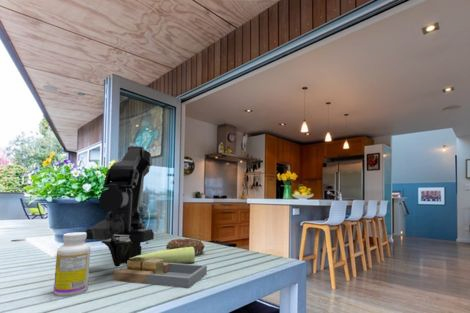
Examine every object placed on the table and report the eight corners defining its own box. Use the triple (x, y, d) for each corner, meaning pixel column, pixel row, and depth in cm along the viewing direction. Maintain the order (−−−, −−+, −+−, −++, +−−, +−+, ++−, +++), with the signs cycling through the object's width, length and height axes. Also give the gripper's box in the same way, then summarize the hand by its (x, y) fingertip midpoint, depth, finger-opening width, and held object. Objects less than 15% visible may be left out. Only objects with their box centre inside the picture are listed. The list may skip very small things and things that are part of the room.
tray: (146, 285, 68) (147, 274, 68) (170, 271, 79) (170, 262, 79) (188, 289, 65) (188, 278, 65) (206, 274, 76) (206, 265, 77)
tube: (193, 241, 91) (129, 247, 85) (195, 251, 87) (128, 258, 80) (192, 255, 93) (129, 262, 87) (194, 266, 88) (128, 274, 82)
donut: (159, 257, 98) (159, 242, 99) (175, 249, 111) (176, 236, 112) (197, 259, 95) (197, 244, 95) (210, 251, 108) (210, 238, 109)
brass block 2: (141, 277, 72) (142, 261, 73) (149, 273, 76) (150, 258, 77) (155, 278, 71) (156, 262, 72) (163, 274, 75) (163, 259, 76)
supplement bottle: (63, 287, 65) (67, 231, 67) (92, 287, 66) (96, 231, 68) (46, 298, 59) (52, 235, 60) (79, 297, 59) (83, 235, 61)
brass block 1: (126, 276, 74) (127, 260, 74) (135, 272, 77) (136, 257, 78) (139, 277, 73) (140, 261, 73) (148, 273, 76) (149, 258, 77)
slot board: (112, 281, 70) (113, 271, 70) (140, 269, 82) (141, 260, 82) (146, 285, 68) (147, 274, 68) (170, 271, 79) (170, 262, 79)
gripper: (70, 209, 74) (65, 271, 72) (132, 211, 69) (128, 277, 67) (100, 207, 84) (96, 261, 82) (155, 209, 80) (153, 266, 78)
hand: (117, 266), depth 77 cm, fingers closed
